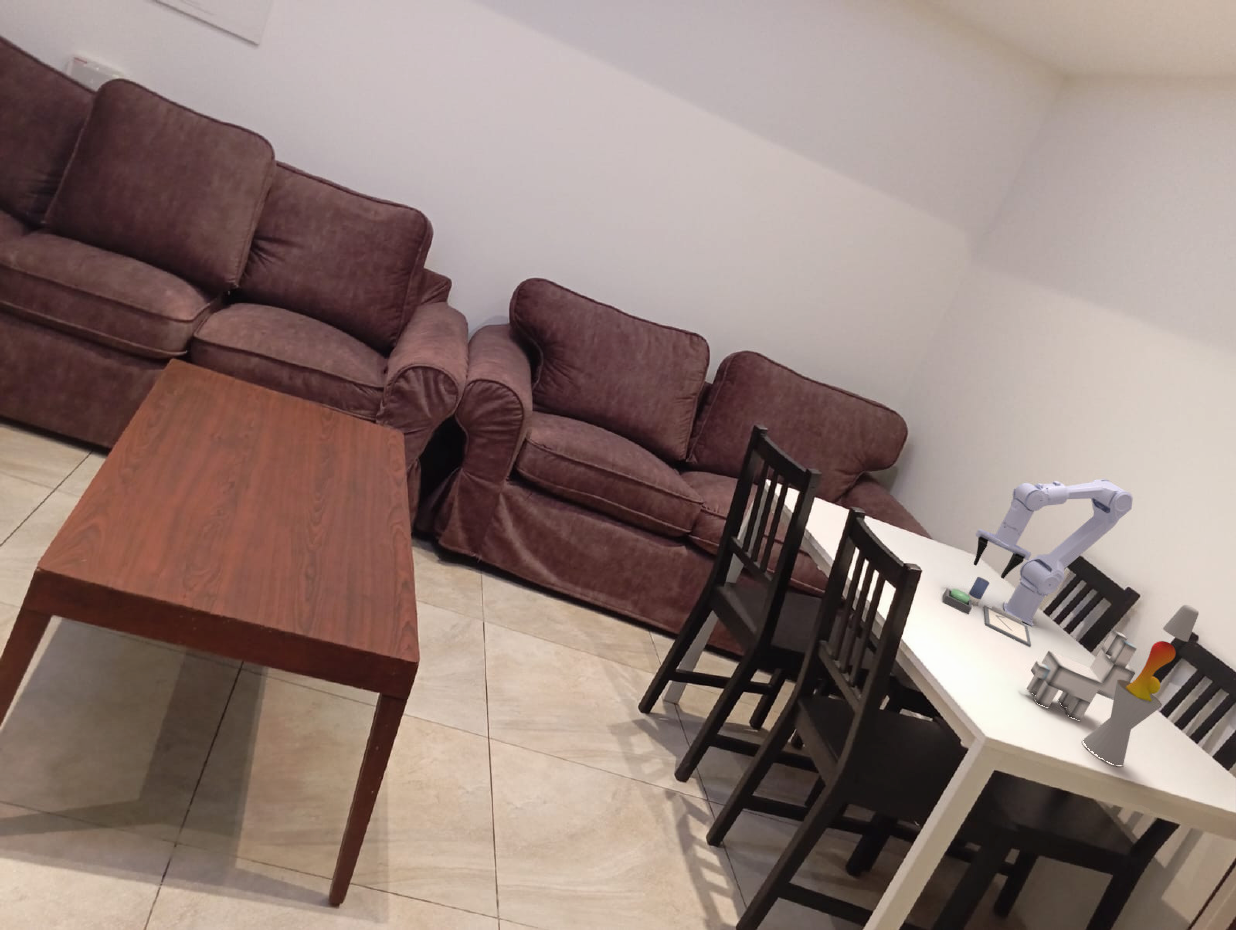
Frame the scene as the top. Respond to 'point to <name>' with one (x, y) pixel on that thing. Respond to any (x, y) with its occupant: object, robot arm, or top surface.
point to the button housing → (956, 602)
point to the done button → (960, 596)
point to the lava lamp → (1138, 694)
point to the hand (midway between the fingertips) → (988, 570)
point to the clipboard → (1006, 624)
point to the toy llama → (1082, 676)
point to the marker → (978, 590)
